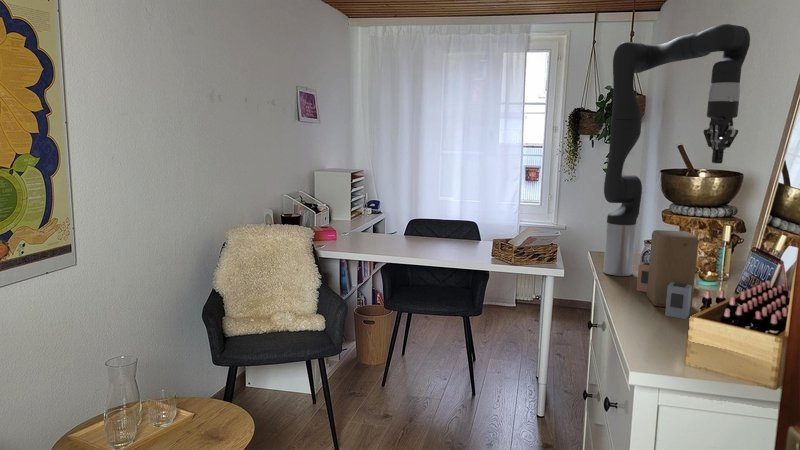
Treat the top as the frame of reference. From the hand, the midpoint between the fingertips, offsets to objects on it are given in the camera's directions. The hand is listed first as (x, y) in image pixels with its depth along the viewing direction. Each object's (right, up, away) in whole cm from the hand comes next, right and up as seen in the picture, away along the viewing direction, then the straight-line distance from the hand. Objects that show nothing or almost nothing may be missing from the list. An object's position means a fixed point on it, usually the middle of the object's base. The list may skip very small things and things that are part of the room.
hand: (717, 163), depth 162 cm
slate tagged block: (-16, -41, -10) cm, 45 cm away
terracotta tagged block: (-14, -37, +13) cm, 42 cm away
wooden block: (-14, -40, 0) cm, 42 cm away
